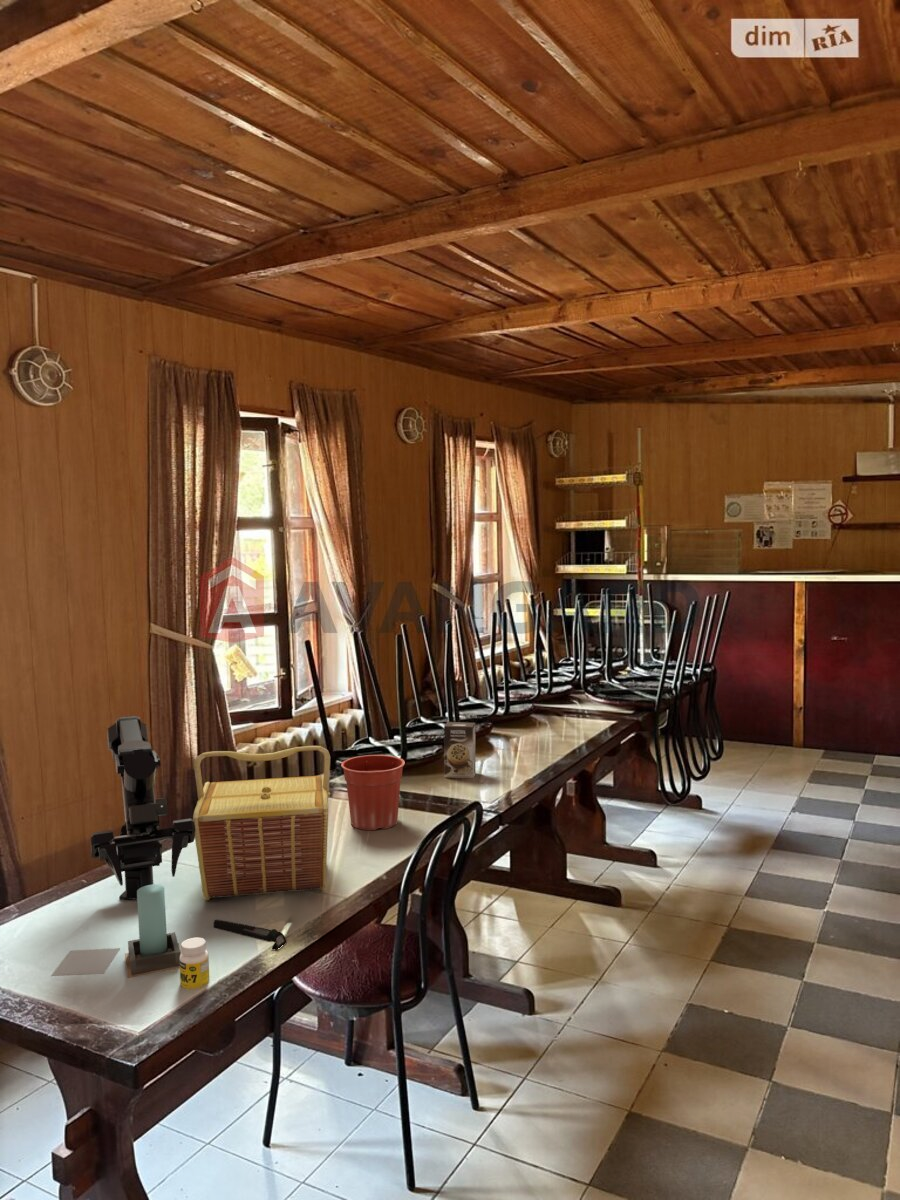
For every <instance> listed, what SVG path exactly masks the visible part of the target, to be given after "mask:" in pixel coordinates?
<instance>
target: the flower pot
mask: <svg viewBox="0 0 900 1200" xmlns="http://www.w3.org/2000/svg"><path fill="white" fill-rule="evenodd" d="M340 766H341V768H342V769H343V775H344V780H345V782H346V789H347V790H346V791H347V798H348V807H349V815H350V816H349V817H350V823H351V824H352V826H353V828H356V829H360V830H363V831H364V830H365V831H377V829H383V830H384V829H385V830H386V829H388V828H392V827H393V826H395V825H396V824H397V823H398V817H399V806H400V805H399V803H400V791H401V780H402V778H403V768H404V766H405V760H404V759H403V758H401V757H397V756H393V755H385V754H368V755H359V756H355V757H351V758H348V759H345V760H343V761H342V763H341V765H340Z"/></svg>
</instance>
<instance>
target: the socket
mask: <svg viewBox="0 0 900 1200" xmlns="http://www.w3.org/2000/svg"><path fill="white" fill-rule="evenodd" d="M127 948H128V949H127V950H128V952H127V953H125V954H124V955H125V963H126V972H127V979H130V978H136V977H140V976H145V975H150V974H155V973H160V972H165V971H169V970H173V969H180V961H179V958H180V955H181V946H180V944H179V942H178V939H177V933H176V932H169V933H167V951H168V952H166V953H161V954H156V955H151V956H146V957H141V958H140V939H139V938H138V939H133V940H128V941H127Z"/></svg>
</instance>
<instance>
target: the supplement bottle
mask: <svg viewBox="0 0 900 1200" xmlns="http://www.w3.org/2000/svg"><path fill="white" fill-rule="evenodd" d="M206 943H207V942H206V940H205V939H204V938H203V937H199V936H198V937H191V938H188V939H185V940H183V941H182V942H181V944H180V945H181V946H180V950H181V955H180V958H179V961H180V968H179V978H180V979H179V980H180V981H179V982H180V983H179V984H180V987H182V988H184V989H187V990H194V989H199V988H201V987H205V986H206V985H207V984H208V983H209V982H210V960H209V959H210V958H209V956H210V955H209V952H208V951H207V944H206Z"/></svg>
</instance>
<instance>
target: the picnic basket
mask: <svg viewBox="0 0 900 1200" xmlns="http://www.w3.org/2000/svg"><path fill="white" fill-rule="evenodd" d="M304 751H305V752H309V751H318V752H320V753H322V754H323V757H324V763H323V774H322V775H309V776H307V775H306V776H297V777H296V776H295V777H293V776H292V777H276V778H264V779H263V778H262V779H261V778H260V779H259V778H258V779H248V780H247V779H246V780H245V779H244V780H231V781H230V780H229V781H217V782H216V781H213V782H210V781H206V782H204V785H203V778H202V770H201V763H202V760H204V759H205V758H208V757H209V758H210V757H229V758H233V759H235V760H239V761H245V762H246V761H248V762H266V761H274V760H275V761H276V760H278V759H279V760H280V759H282V758H283V759H284V758H287V757H290V756H291V755H294V754H295V753H298V752H304ZM193 770H194V777H195V783H196V784H195V785H196V791H197V799H198V800H197V802H196V806H195V808H194V810H193V815H192V820H193V821H194V823H195V837H194V841H195V849H196V853H197V861H198V867H199V868H198V869H199V875H200V881H201V888H202V890H201V891H202V895H203V898H204V899H205V900H206V901H209V900H211V898H213V899H214V898H223V897H232V896H233V897H234V896H235V897H237V896H246V895H247V896H248V895H258V894H259V895H261V894H272V893H283V892H296V891H297V892H298V891H305V890H306V891H307V890H309V891H310V890H321V891H324V890H325V891H326V886H327V885H326V884H327V859H328V858H327V856H328V855H327V853H328V837H329V836H328V832H329V829H328V828H329V797H330V795H331V792H330V776H331V775H330V774H331V773H330V771H331V755H330V752H329V750H328V749H326V748H325V747H323V746H322V745H306V746H296V747H292V748H286V749H283V750H279V751H275V752H268V753H247V752H239V751H231V750H226V751H225V750H222V751H221V750H217V751H206V752H202V753H201V754H199V755H198V756H197V757H195V760H194V764H193Z"/></svg>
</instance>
